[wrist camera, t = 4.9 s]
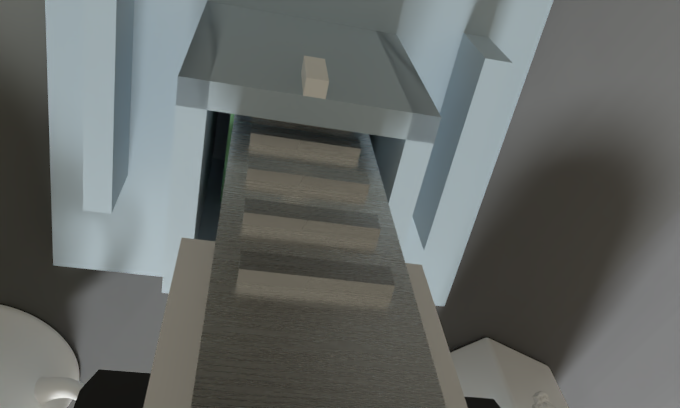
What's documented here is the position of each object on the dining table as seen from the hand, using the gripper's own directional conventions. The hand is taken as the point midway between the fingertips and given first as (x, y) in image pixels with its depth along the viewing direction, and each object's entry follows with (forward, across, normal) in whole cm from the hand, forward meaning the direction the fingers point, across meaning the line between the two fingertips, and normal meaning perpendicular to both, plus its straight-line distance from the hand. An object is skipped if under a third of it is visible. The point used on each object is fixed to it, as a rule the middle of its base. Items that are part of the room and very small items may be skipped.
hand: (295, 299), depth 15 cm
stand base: (+13, 0, 0) cm, 13 cm away
